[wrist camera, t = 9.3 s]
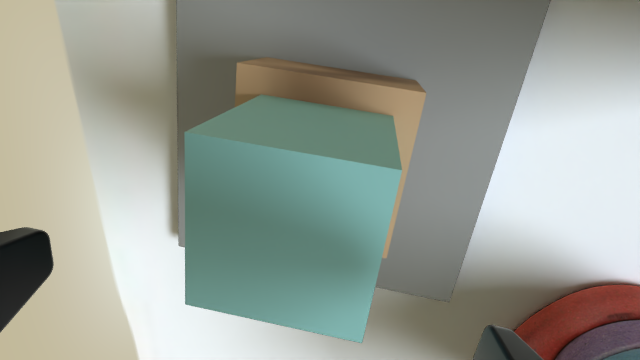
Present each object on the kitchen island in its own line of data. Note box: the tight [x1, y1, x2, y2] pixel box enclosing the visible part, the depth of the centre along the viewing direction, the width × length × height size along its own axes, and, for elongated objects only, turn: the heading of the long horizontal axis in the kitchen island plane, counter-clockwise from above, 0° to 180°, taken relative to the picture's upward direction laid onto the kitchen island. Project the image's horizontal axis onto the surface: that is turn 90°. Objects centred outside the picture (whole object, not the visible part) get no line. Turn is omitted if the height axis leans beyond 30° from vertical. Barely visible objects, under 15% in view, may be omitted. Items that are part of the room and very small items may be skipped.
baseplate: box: [176, 0, 551, 302], centre depth 19 cm, size 16×16×1 cm
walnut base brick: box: [235, 57, 426, 258], centre depth 17 cm, size 7×7×4 cm
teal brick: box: [184, 94, 402, 343], centre depth 12 cm, size 5×5×6 cm
